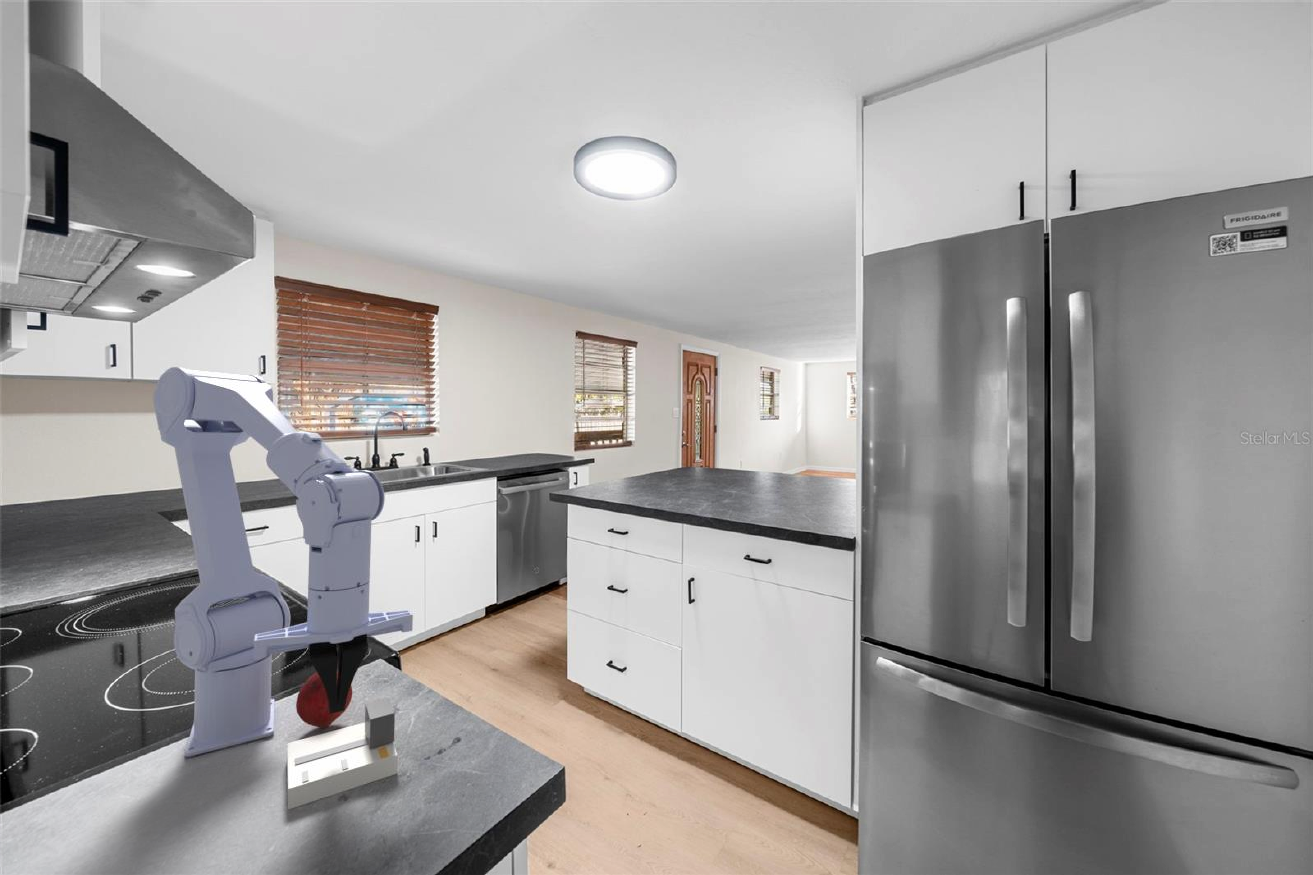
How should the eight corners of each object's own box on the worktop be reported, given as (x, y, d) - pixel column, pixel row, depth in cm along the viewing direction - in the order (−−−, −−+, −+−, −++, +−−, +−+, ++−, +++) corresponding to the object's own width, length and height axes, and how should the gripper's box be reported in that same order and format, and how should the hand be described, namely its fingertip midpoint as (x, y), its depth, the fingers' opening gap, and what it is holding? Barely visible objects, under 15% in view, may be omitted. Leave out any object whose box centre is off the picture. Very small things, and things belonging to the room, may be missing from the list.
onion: (324, 744, 61) (325, 676, 61) (283, 737, 62) (284, 670, 62) (362, 718, 66) (363, 655, 66) (323, 712, 68) (325, 651, 68)
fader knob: (364, 731, 60) (365, 703, 60) (388, 725, 61) (388, 697, 61) (369, 748, 56) (370, 719, 56) (394, 741, 58) (394, 712, 58)
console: (286, 761, 57) (287, 742, 57) (383, 733, 63) (384, 716, 63) (287, 809, 50) (288, 788, 50) (397, 773, 56) (397, 754, 56)
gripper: (253, 605, 49) (250, 749, 49) (419, 582, 57) (416, 705, 57) (256, 586, 54) (253, 714, 55) (407, 568, 63) (404, 679, 63)
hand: (336, 708), depth 56 cm, fingers closed
